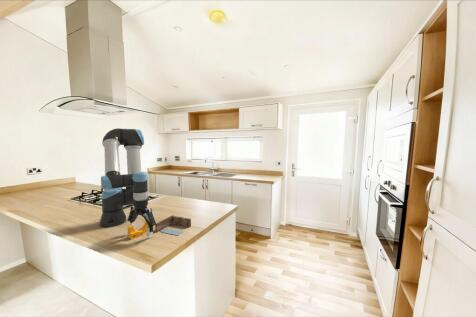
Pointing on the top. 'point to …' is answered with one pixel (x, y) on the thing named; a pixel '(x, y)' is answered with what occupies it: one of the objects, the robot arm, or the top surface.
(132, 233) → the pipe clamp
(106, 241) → the top surface
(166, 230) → the pad
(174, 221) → the brown wooden corner wall
